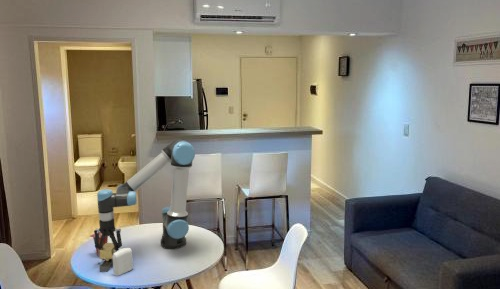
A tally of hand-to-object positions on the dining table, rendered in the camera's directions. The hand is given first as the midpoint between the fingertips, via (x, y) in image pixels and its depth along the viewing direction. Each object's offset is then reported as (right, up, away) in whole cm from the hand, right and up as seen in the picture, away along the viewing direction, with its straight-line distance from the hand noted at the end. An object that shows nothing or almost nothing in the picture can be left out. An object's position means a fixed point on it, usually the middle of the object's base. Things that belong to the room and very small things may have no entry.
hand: (109, 259), depth 219 cm
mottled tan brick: (0, -1, 0) cm, 1 cm away
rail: (0, -2, 0) cm, 2 cm away
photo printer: (+10, -4, -8) cm, 14 cm away
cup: (-9, -1, +12) cm, 14 cm away
